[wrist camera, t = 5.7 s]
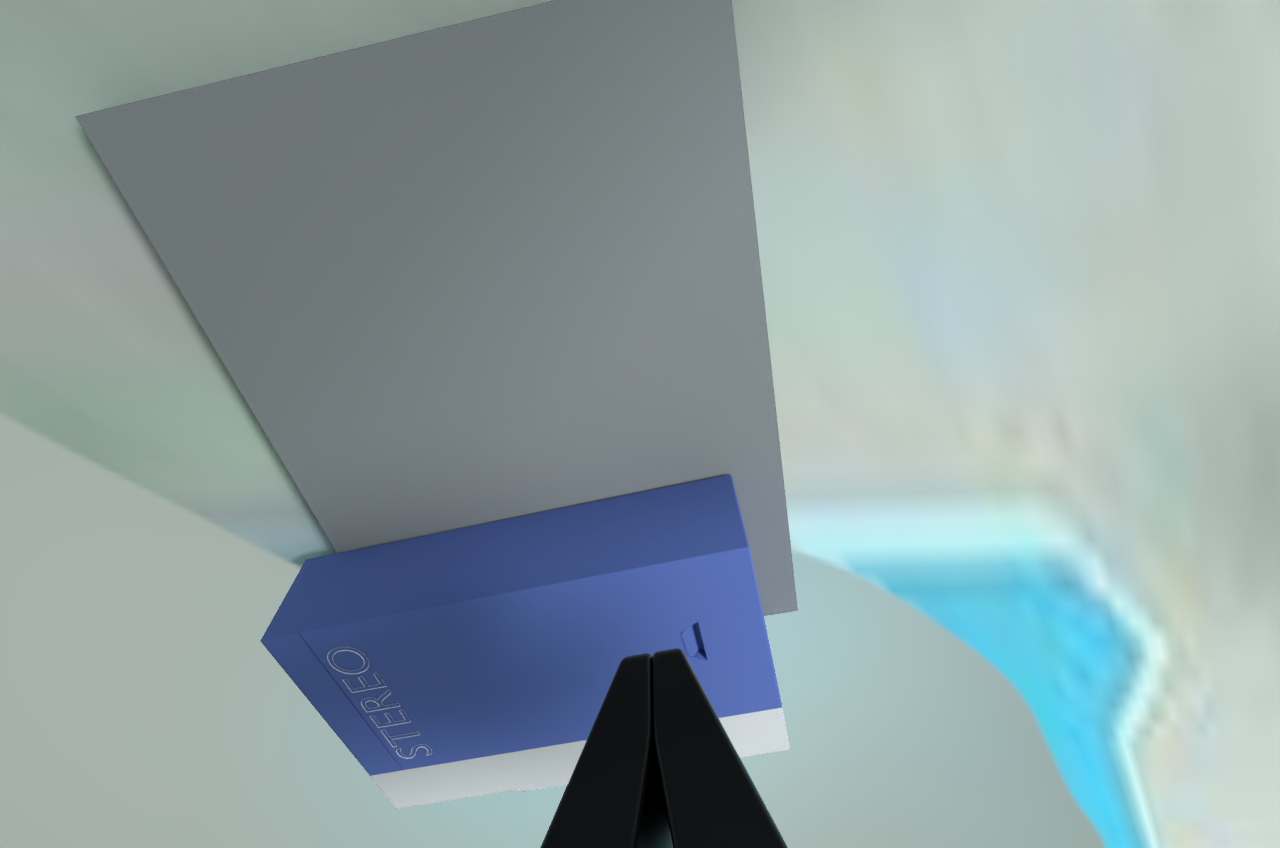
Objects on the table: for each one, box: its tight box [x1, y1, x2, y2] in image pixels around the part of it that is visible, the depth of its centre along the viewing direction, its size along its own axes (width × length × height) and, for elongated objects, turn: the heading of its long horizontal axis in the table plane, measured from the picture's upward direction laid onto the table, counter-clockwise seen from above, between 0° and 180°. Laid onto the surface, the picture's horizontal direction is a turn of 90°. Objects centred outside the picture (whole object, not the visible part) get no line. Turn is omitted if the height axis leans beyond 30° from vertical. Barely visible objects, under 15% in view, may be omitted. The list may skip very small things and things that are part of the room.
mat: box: [75, 0, 798, 616], centre depth 16 cm, size 12×16×1 cm
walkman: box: [261, 474, 790, 809], centre depth 18 cm, size 8×3×12 cm
